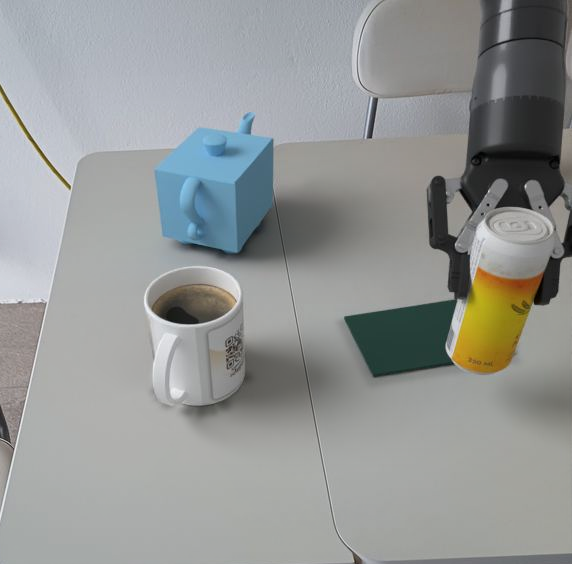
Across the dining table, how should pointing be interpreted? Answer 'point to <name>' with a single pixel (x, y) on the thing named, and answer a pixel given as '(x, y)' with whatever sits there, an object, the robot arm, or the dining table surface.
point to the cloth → (404, 337)
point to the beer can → (499, 288)
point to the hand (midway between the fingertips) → (500, 300)
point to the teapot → (216, 187)
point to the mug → (196, 335)
